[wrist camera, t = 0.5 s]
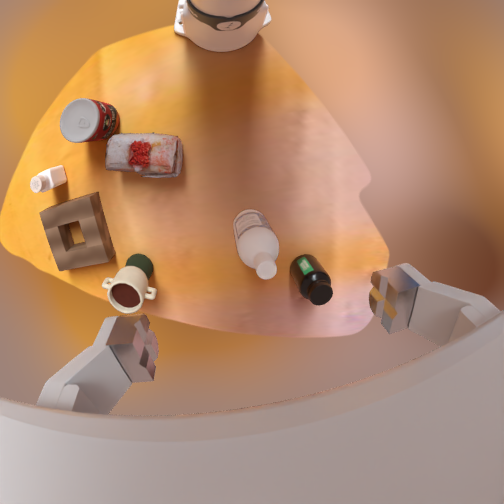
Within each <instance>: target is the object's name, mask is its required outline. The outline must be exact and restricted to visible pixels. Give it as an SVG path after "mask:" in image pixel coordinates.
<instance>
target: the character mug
mask: <svg viewBox="0 0 504 504" xmlns="http://www.w3.org/2000/svg"><path fill="white" fill-rule="evenodd" d="M152 272H153V265H152V263H151V261H150V259H149V258H147V257H146V256H145V255H142V254H135V255H132V256H131V257H130V258H129V259H128V260H127V263H126V266H125V267H124V268H122V269H120V271H119V272H118V273H117V274H116V276H115V277H114V279H113V278H109V277H107V278H106V279H105V280H104V282H103V284H102V287H103V288H104V289H108V292H107V295H108V299H109V301H110V303H111V305H113V307H114V308H115V309H117V310H118V311H120V312H122V313H127V314H131V313H134V312H137V311H138V310H139V309H140V308H141V307H142V304H143V301H144V299H145V298H146V299H150V300H153V299H154V298H155V297H156V293H157V290H156V289H155V288H152V287H149V285H148V280H149V278H150V276H151V274H152ZM108 283H111V284H110V285H109V284H108ZM147 292H152V293H151V294H147Z"/></svg>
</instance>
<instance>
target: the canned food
mask: <svg viewBox="0 0 504 504" xmlns="http://www.w3.org/2000/svg"><path fill="white" fill-rule="evenodd" d="M118 124H119V115H118V112H117V110H116V109H115V108H114V107H113V106H112V105H110V104H107V103H104V102H99V101H95V100H91V99H86V98H81V99H76V100H74V101H72V102H71V103H69V104H68V105H67V106H66V108H65V109H64V111H63V113H62V115H61V119H60V129H61V132H62V134H63V136H64V137H65V138H66V139H67V140H68V141H70V142H74V143H81V142H89V141H98V140H104V139H107V138H109V137H110V136H111V135H112V134H113V133H114V132H115V131H116V129H117V127H118Z"/></svg>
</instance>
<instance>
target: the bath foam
mask: <svg viewBox="0 0 504 504" xmlns="http://www.w3.org/2000/svg"><path fill="white" fill-rule="evenodd" d="M233 230H234V236H235V241H236V247H237V252H238V254H239V256H240V258H241V260H242V261H243V262H244V263H245V264H246V265H247V266H249V267H251V268H254V269H256V273H257V275H258V276H259V277H260V278H262V279H270V278H272V277H274V276H275V274H276V272H277V266H276V264H275V260H276V259H277V257H278V254H279V242H278V239H277V237H276V235H275V233H274V232H273V230H272V228H271V226H270V225H269V223H268V221H267V220H266V218H265V217H264V215H263V214H262V213H261V212H259V211H257V210H253V209H248V210H244V211H242V212H240V213H239V214H238V215H237V216H236V218H235V220H234V223H233Z"/></svg>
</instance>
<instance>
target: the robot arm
mask: <svg viewBox="0 0 504 504" xmlns="http://www.w3.org/2000/svg"><path fill="white" fill-rule="evenodd" d="M270 22H271V16H270V14H269V12H268V5H266V3H265V0H179V3H178V8H177V14H176V19H175V25H174V31H175V33H177V34H179V35H182V36H186V37H188V38H189V39H190V40H192V41H193V42H194V43H195V44H196V45H198V46H199V47H201V48H204V49H206V50H210V51H216V52H227V51H233V50H236V49H239V48H241V47H243V46H245V45H247V44H248V43H250V42H251V41H252V40H253V39H254V38H255V36H256V35H257V33H258V32H259V30H260V29H262V28H263V27H265V26H267V25H268V24H269V23H270ZM179 23H182V24H181V25H180V24H179ZM371 283H372V285H373V288H372V289H371V291H370V292H369V304H370V308H371V310H372V312H373V313H374V315H375V316H377V317H380V318H382V319H381V324H382V325H383V326H384V328H385V329H386V330H387V332H388V333H389V334H391V333H394V332H397V331H401V330H404V329H406V328H408V329H409V330H411V331H413V332H414V333H416V334H418V335H420V336H422V337H424V338H426V339H427V340H429V341H431V342H433V343H435V344H437V345H439V346H440V347H439V348H437V349H435V350H433V351H431V352H429V353H426V354H424V355H422V356H420V357H418V358H415V359H413V360H411V361H409V362H406V363H404V364H401V365H399V366H397V367H394V368H391V369H389V370H386V371H384V372H381V373H378V374H376V375H373V376H370V377H367V378H364V379H361V380H358V381H355V382H352V383H349V384H346V385H343V386H339V387H336V388H333V389H329V390H325V391H322V392H318V393H314V394H311V395H307V396H302V397H298V398H294V399H290V400H285V401H280V402H275V403H271V404H265V405H259V406H253V407H247V408H241V409H234V410H226V411H218V412H209V413H198V414H183V415H160V416H130V415H129V416H128V415H108V414H109V413H110V411H111V410H112V409H113V407H114V406H115V405H116V403H117V402H118V401H119V400H120V398H121V397H122V396H123V395H124V393H125V392H126V391H127V389H128V388H129V387H130V386H131V384H132V382H147V381H154V375H155V369H156V366H155V364H154V361H155V360H156V359H157V358H158V352H159V351H158V343H157V338H156V336H155V334H154V332H152V331H151V330H150V329H148V328H149V324H150V322H149V320H148V318H147V316H146V315H145V314H144V313H143V314H134V315H124V316H114V317H107V318H105V320H104V323H103V324H102V326H101V329H100V331H99V333H98V335H97V337H96V340H95V342H94V344H93V346H91V347H88V348H87V349H85V350H84V351H83V352H82V353H80V354H79V355H78V356H77V357H75V358H74V359H73V360H72V361H71V362H69V363H68V364H67V365H66V366H64V367H63V368H62V369H61V370H60V371H58V372H57V373H56V374H55V375H54V376H52V377H51V378H50V379H49V380H47V381H46V383H45V385H44V388H43V390H42V392H41V394H40V397H39V399H38V402H37V404H36V405H31V404H26V403H22V402H18V401H13V400H10V399H6V398H2V397H0V504H504V310H503V311H500V310H499V309H497V308H496V307H495V306H494V305H493V304H492V303H491V302H489V301H488V300H487V299H486V298H485V297H484V296H480V295H477V294H474V293H471V292H467V291H464V290H460V289H458V288H454V287H451V286H447V285H444V284H440V283H437V282H430V281H429V280H428V279H427V278H425V277H424V276H423V275H422V274H421V273H420V272H418V271H417V270H416V269H415V268H413V267H412V266H411V265H410V264H408V263H404V264H400V265H397V266H394V267H391V268H387V269H383V270H379V271H375V272H373V274H372V276H371Z"/></svg>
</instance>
